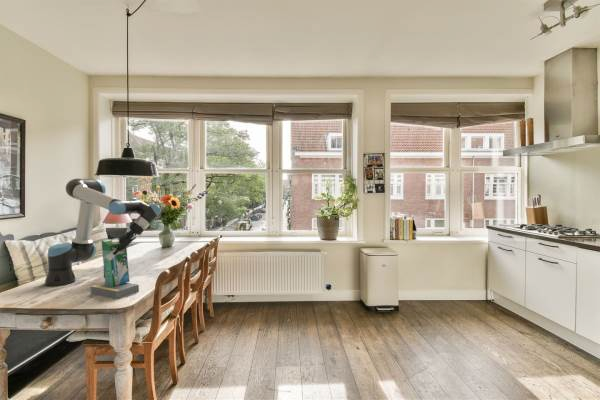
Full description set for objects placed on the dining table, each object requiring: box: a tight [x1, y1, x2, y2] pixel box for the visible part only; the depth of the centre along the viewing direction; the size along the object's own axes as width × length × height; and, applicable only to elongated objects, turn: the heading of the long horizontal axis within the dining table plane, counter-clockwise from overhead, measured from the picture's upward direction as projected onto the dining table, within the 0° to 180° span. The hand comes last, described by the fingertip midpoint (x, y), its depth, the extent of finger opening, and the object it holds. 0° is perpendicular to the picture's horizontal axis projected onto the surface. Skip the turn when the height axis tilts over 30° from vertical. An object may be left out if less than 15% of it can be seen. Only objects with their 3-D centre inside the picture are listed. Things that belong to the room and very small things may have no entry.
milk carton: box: [101, 237, 130, 286], centre depth 187 cm, size 9×9×25 cm
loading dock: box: [90, 282, 140, 300], centre depth 184 cm, size 20×14×4 cm
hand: (107, 258), depth 180 cm, fingers open, 2 cm apart
